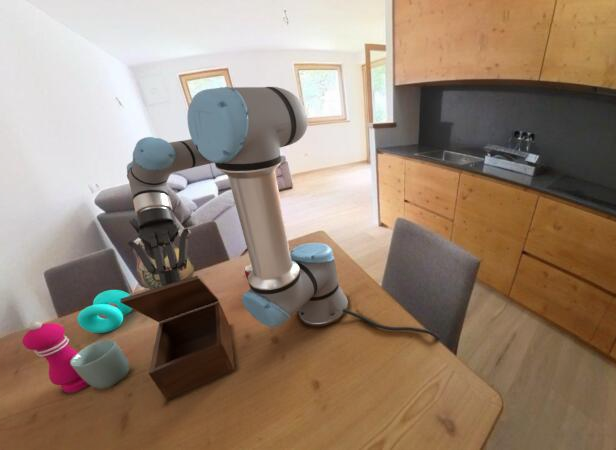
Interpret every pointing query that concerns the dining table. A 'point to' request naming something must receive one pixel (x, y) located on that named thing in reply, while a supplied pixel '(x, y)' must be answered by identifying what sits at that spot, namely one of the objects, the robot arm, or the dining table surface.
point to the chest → (191, 351)
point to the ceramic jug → (144, 275)
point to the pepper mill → (54, 354)
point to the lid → (172, 299)
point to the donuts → (104, 312)
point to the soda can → (248, 270)
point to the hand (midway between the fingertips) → (174, 295)
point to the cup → (101, 364)
